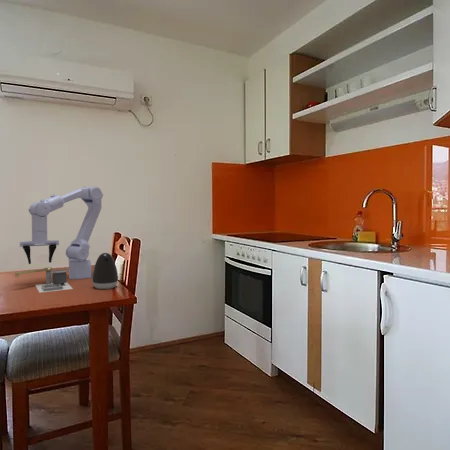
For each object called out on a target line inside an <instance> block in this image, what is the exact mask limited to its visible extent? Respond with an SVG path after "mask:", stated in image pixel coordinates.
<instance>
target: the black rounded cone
mask: <svg viewBox="0 0 450 450" xmlns="http://www.w3.org/2000/svg"><path fill="white" fill-rule="evenodd" d="M115 262H116V261H115V259H114V258H113V256H112V254H110V253H108V252H103V253H101V254H99V255H98V257H97V259H96V261H95V263H94V268H93V271H92V276H91V278H92V279H91V282H92V284H93V286H94V288H95V289H98V290H111V289H114V288H116V286H117V284H118V281H119V274H118V268H117V265H116V263H115Z"/></svg>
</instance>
